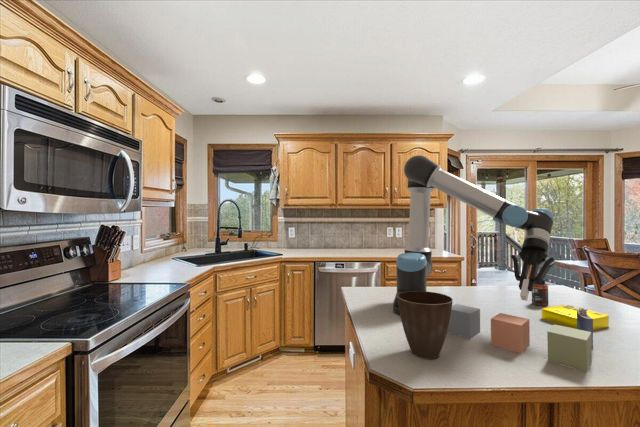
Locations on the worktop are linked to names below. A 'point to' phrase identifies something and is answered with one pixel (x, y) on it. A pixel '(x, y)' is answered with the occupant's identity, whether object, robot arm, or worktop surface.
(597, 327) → the element tile
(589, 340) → the olive block
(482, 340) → the worktop surface
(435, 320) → the plant pot
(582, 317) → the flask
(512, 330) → the terracotta block
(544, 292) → the supplement bottle
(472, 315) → the slate block
